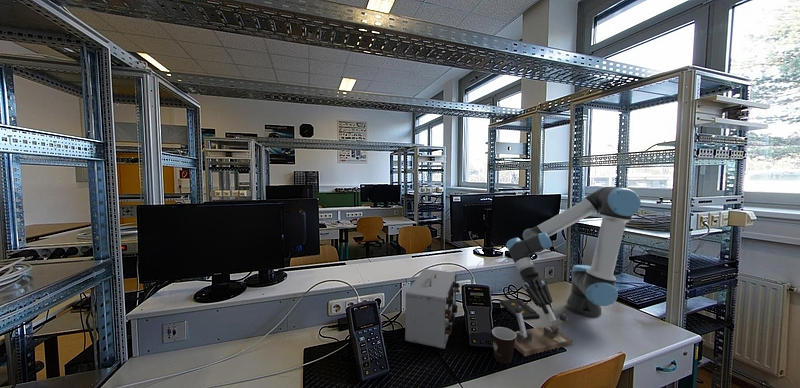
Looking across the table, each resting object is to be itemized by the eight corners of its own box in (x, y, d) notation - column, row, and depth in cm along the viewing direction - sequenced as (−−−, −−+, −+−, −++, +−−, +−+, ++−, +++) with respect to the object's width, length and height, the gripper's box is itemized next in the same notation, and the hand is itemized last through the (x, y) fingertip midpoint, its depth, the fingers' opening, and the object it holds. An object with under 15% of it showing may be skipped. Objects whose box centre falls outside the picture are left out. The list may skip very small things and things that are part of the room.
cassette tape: (539, 319, 138) (540, 315, 138) (517, 321, 137) (518, 316, 137) (519, 302, 156) (519, 298, 156) (499, 303, 155) (499, 299, 154)
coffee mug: (517, 367, 104) (518, 341, 103) (492, 364, 105) (493, 338, 104) (511, 347, 115) (512, 324, 114) (489, 345, 117) (489, 322, 116)
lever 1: (525, 337, 118) (517, 305, 122) (530, 338, 115) (522, 305, 119) (519, 338, 117) (511, 306, 121) (524, 339, 114) (516, 306, 119)
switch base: (548, 329, 128) (549, 318, 128) (572, 344, 117) (572, 333, 117) (504, 338, 121) (504, 327, 121) (524, 356, 110) (525, 344, 109)
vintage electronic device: (449, 354, 111) (450, 292, 109) (405, 345, 117) (405, 286, 115) (459, 315, 141) (460, 266, 139) (424, 309, 146) (424, 262, 144)
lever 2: (550, 327, 123) (565, 311, 116) (555, 333, 121) (570, 318, 114) (545, 328, 122) (559, 312, 115) (549, 335, 120) (564, 319, 113)
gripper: (533, 271, 138) (559, 321, 124) (511, 274, 134) (536, 326, 120) (542, 264, 133) (571, 316, 118) (519, 266, 129) (546, 320, 114)
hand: (553, 321), depth 119 cm, fingers closed
